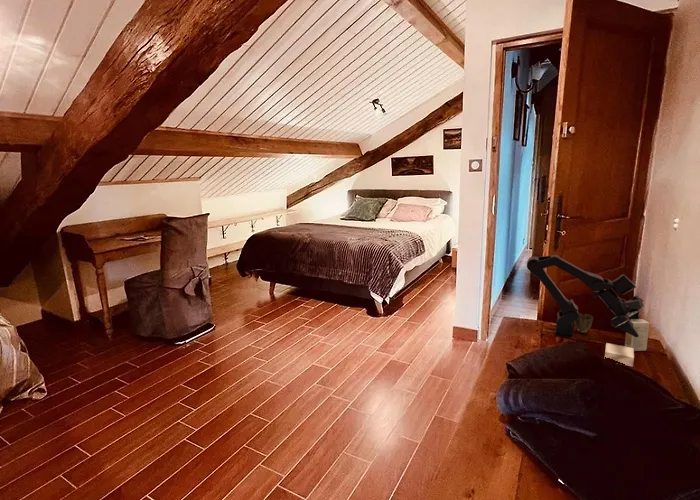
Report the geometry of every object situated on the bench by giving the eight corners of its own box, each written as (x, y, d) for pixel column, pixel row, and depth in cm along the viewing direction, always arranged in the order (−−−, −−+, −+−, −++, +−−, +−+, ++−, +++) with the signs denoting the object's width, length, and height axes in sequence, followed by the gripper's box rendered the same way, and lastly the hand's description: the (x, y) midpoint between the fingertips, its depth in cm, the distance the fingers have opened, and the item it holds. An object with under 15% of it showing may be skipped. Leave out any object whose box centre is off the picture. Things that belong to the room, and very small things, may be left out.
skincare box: (639, 346, 162) (643, 318, 159) (646, 351, 158) (650, 322, 155) (623, 346, 163) (626, 318, 160) (629, 350, 158) (633, 322, 156)
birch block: (604, 361, 151) (605, 351, 151) (605, 352, 159) (606, 343, 158) (632, 367, 146) (633, 357, 146) (632, 357, 154) (633, 348, 153)
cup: (591, 330, 178) (593, 314, 176) (591, 337, 172) (593, 320, 170) (573, 327, 182) (574, 311, 180) (572, 333, 176) (573, 316, 174)
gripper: (622, 296, 152) (653, 331, 146) (637, 286, 164) (666, 317, 158) (598, 310, 160) (626, 343, 154) (613, 299, 171) (640, 330, 165)
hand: (641, 333), depth 158 cm, fingers open, 9 cm apart
